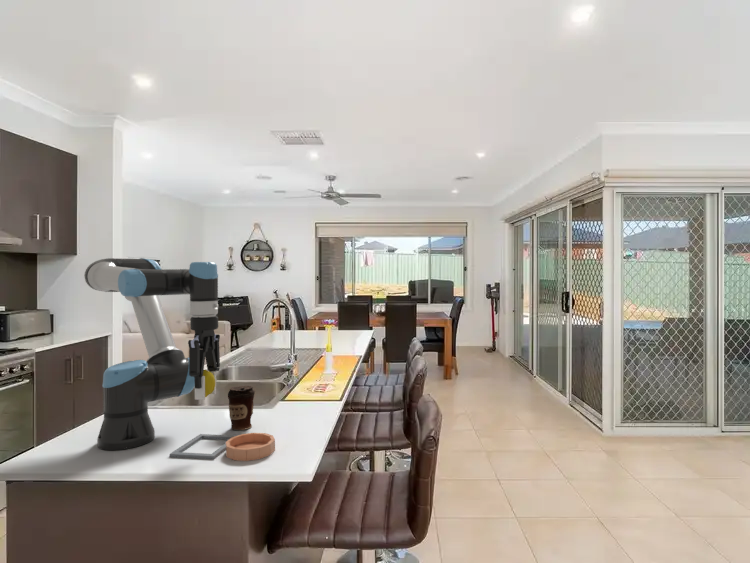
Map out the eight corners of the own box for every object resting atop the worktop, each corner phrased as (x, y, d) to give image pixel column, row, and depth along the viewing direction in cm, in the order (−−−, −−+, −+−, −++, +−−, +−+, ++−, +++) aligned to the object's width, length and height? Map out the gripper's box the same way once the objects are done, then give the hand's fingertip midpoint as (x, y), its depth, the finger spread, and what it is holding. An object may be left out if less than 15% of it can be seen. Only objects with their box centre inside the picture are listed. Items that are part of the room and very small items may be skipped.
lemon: (198, 395, 136) (198, 367, 136) (217, 394, 137) (217, 367, 137) (192, 400, 131) (192, 371, 131) (212, 399, 131) (212, 371, 131)
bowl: (217, 459, 125) (217, 448, 125) (238, 442, 138) (238, 432, 138) (263, 461, 123) (263, 450, 123) (281, 444, 136) (280, 433, 136)
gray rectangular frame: (169, 456, 127) (169, 453, 127) (200, 436, 143) (200, 434, 143) (214, 459, 125) (214, 456, 125) (240, 438, 141) (240, 435, 141)
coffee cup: (247, 432, 146) (246, 391, 146) (222, 431, 148) (222, 390, 147) (259, 424, 154) (258, 385, 154) (236, 422, 156) (235, 384, 156)
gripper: (199, 319, 124) (200, 406, 124) (231, 313, 142) (232, 388, 142) (173, 318, 125) (175, 405, 125) (208, 313, 143) (209, 388, 144)
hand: (205, 396), depth 134 cm, fingers closed on lemon, 5 cm apart
